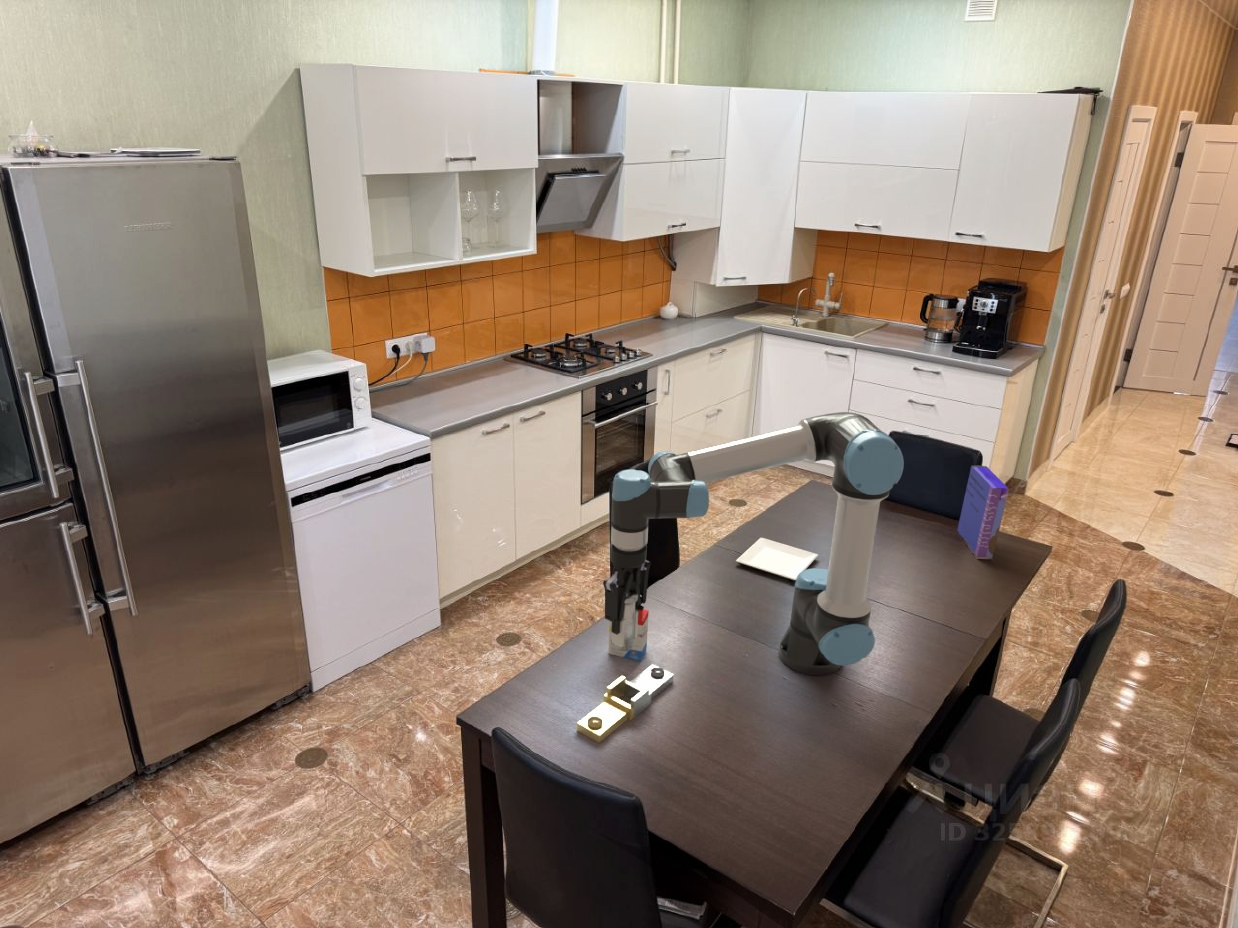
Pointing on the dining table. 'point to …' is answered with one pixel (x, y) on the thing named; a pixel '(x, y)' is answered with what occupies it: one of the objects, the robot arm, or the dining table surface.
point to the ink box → (638, 642)
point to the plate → (777, 558)
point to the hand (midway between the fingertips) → (624, 639)
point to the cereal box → (982, 510)
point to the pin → (629, 621)
